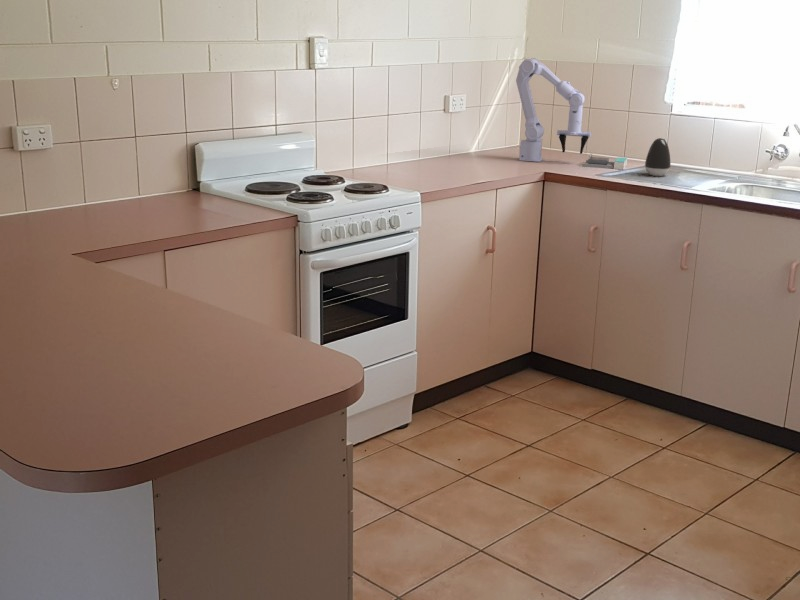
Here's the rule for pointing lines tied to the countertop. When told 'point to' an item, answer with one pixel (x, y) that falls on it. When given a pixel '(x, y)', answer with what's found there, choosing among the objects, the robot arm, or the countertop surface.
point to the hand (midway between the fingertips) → (572, 152)
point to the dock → (610, 164)
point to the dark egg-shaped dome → (658, 158)
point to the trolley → (598, 160)
